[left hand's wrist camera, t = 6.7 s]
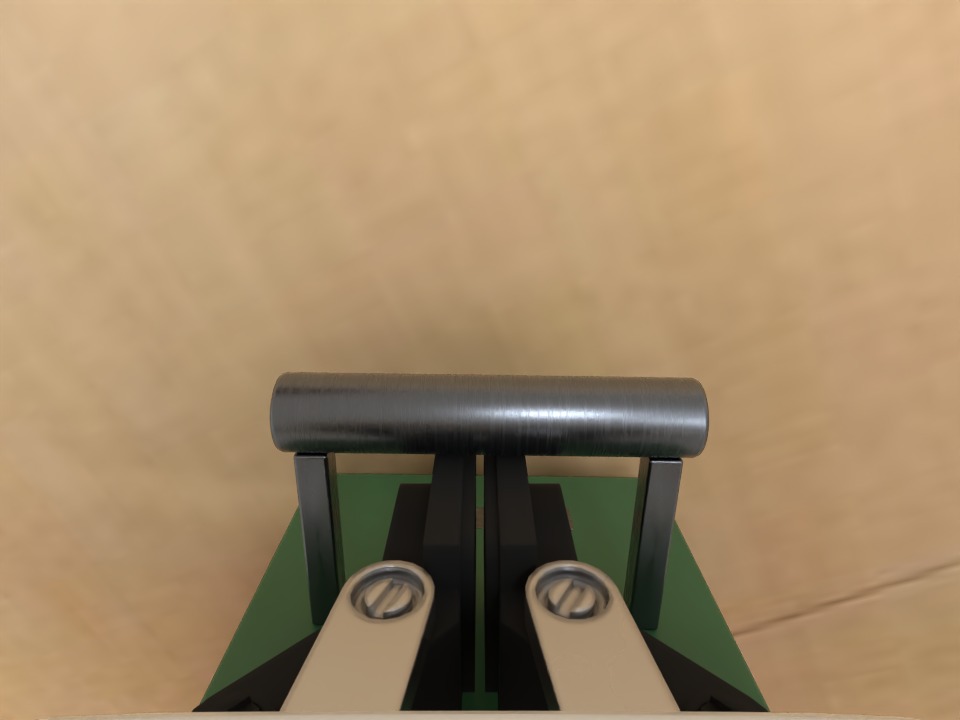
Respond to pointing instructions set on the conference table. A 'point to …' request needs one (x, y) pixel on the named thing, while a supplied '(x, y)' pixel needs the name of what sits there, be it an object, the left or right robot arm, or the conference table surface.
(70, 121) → the conference table surface
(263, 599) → the drawer
